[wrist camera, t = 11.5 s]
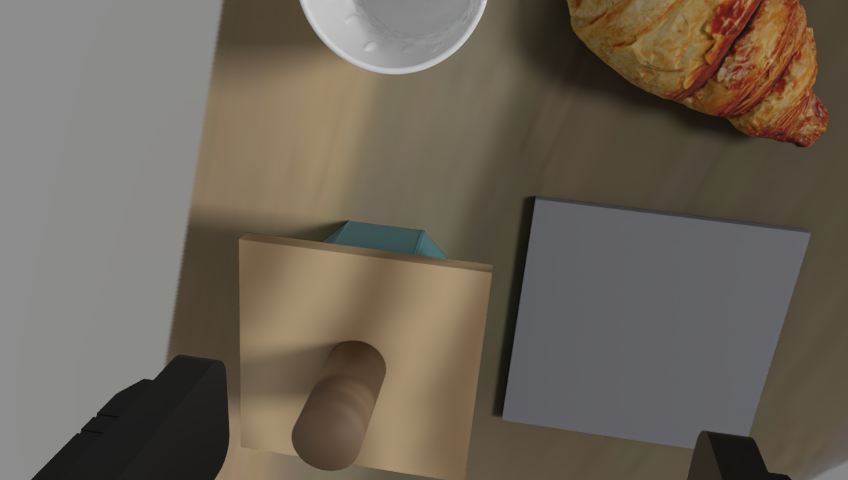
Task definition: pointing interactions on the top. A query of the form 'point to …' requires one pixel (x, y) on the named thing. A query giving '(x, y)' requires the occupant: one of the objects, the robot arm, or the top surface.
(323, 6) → the white cup
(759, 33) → the croissant
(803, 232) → the mat
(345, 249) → the lid
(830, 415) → the top surface
